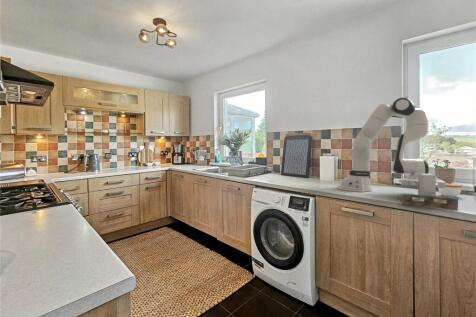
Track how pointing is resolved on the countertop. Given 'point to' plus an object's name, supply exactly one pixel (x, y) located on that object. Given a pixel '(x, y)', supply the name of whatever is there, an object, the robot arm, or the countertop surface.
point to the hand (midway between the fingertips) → (425, 185)
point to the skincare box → (427, 184)
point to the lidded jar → (450, 190)
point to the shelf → (430, 201)
